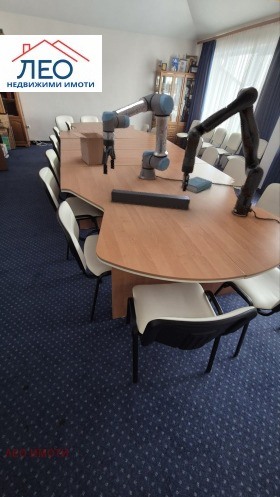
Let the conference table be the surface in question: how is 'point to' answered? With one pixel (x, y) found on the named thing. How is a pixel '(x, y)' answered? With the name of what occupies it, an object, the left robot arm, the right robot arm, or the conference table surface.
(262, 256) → the conference table surface
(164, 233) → the conference table surface
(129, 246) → the conference table surface
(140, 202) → the bar
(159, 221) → the conference table surface
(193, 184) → the book
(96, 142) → the box
